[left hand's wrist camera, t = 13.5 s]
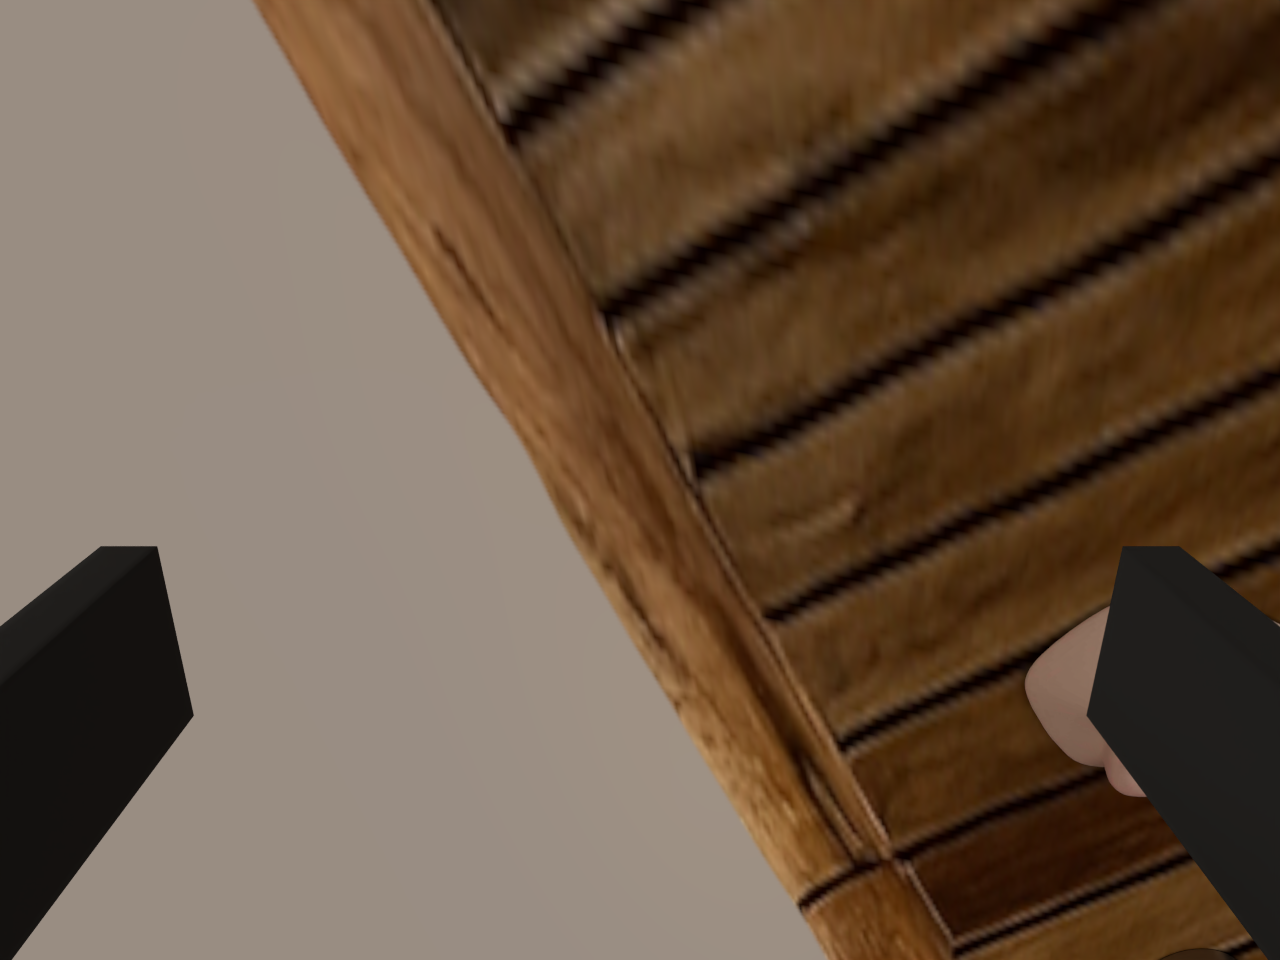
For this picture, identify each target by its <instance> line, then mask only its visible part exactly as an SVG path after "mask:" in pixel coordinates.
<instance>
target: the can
mask: <svg viewBox="0 0 1280 960" xmlns="http://www.w3.org/2000/svg"><path fill="white" fill-rule="evenodd" d="M1161 960H1236V959H1235V958H1234V957H1232V956H1230V955H1228V954H1226V953H1223V952H1220V951H1216V950H1210V949H1192V950H1186V951H1182V952H1178V953H1175V954H1172V955H1169V956H1167V957H1165V958H1163V959H1161Z"/></svg>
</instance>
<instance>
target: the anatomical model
mask: <svg viewBox="0 0 1280 960" xmlns="http://www.w3.org/2000/svg"><path fill="white" fill-rule="evenodd" d="M1109 608H1110V606H1109V607H1107V608H1105V609H1103V610H1101V611H1100V612H1098V613H1096V614H1094V615H1093V616H1091V617H1089V618H1088V619H1086V620H1085V621H1084V622H1082V623H1081V624H1079V625H1078V626H1076V627H1075V628H1073V629H1072V630H1071V631H1069V632H1068V633H1067V634H1065V635H1064V636H1063V637H1062V638H1060V639H1059V640H1058V641H1056V642H1055V643H1054V644H1053V645H1052V646H1051V647H1049V648H1048V649H1047V650H1046V651H1045V652H1044V653H1043V654H1042V655H1041V656H1040V657H1039V658H1038V659H1037V660H1036V661H1035V662H1034V664H1033V665H1032V666H1031V668H1030V669H1029V671H1028V674H1027V676H1026V680H1025V690H1026V694H1027V697H1028V699H1029V702H1030V704H1031V706H1032V708H1033V710H1034V712H1035V713H1036V715H1037V717H1038V718H1039V720H1040V722H1041V723H1042V725H1043V727H1044V728H1045V730H1046V731H1047V733H1048V734H1049V736H1050V737H1051V738H1052V739H1053V740H1054V741H1055V742H1056V744H1057V745H1058V746H1059V747H1060V748H1061V749H1062V750H1063V751H1064V752H1065V753H1066V754H1067V755H1068V756H1069V757H1071V758H1072V759H1073V760H1075V761H1077V762H1079V763H1081V764H1085V765H1089V766H1098V767H1105V770H1106V774H1107V777H1108V779H1109V781H1110V783H1111V784H1112V786H1113V787H1114V788H1115V789H1116V790H1117V791H1119V792H1120V793H1122V794H1125V795H1129V796H1137V797H1147V796H1146V795H1145V794H1144V792H1143V791H1142V790H1141V788H1140V787H1139V786H1138V784H1137V783H1136V782H1135V780H1134V779H1133V778H1132V776H1131V775H1130V774H1129V772H1128V771H1127V770H1126V768H1125V767H1124V766H1123V764H1122V763H1121V762H1120V760H1119V759H1118V757H1117V756H1116V755H1115V753H1114V752H1113V751H1112V749H1111V748H1110V747H1109V745H1108V744H1107V743H1106V741H1105V740H1104V739H1103V737H1102V736H1101V735H1100V733H1099V732H1098V731H1097V729H1096V728H1095V727H1094V725H1093V724H1092V723H1091V721H1090V720H1089V719H1088V717H1087V716H1086V715H1087V710H1088V705H1089V701H1090V696H1091V691H1092V687H1093V682H1094V678H1095V673H1096V668H1097V664H1098V659H1099V654H1100V650H1101V645H1102V641H1103V636H1104V631H1105V627H1106V622H1107V617H1108V613H1109ZM1275 623H1276V622H1275ZM1276 624H1277V625H1279V626H1280V624H1278V623H1276Z"/></svg>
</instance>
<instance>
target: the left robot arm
mask: <svg viewBox="0 0 1280 960" xmlns="http://www.w3.org/2000/svg"><path fill="white" fill-rule="evenodd" d="M193 716H194V715H193V710H192V705H191V701H190V696H189V691H188V687H187V682H186V678H185V673H184V668H183V664H182V659H181V654H180V650H179V645H178V641H177V636H176V631H175V627H174V622H173V617H172V613H171V608H170V604H169V599H168V594H167V590H166V585H165V580H164V576H163V571H162V566H161V562H160V557H159V553H158V548H157V546H101V547H99V548H98V549H97V550H96V551H94V552H93V553H92V554H91V555H89V556H88V557H87V558H86V559H84V560H83V561H82V562H81V563H79V564H78V565H77V566H76V567H74V568H73V569H72V570H71V571H69V572H68V573H67V574H66V575H64V576H63V577H62V578H61V579H59V580H58V581H57V582H55V583H54V584H53V585H52V586H51V587H49V588H48V589H47V590H45V591H44V592H43V593H42V594H40V595H39V596H38V597H37V598H35V599H34V600H33V601H32V602H30V603H29V604H28V605H27V606H25V607H24V608H23V609H22V610H20V611H19V612H18V613H17V614H15V615H14V616H13V617H12V618H10V619H9V620H8V621H6V622H5V623H4V624H3V625H2V626H0V960H12V959H13V957H14V956H15V955H16V953H17V952H18V951H19V949H20V948H21V947H22V945H23V944H24V943H25V941H26V940H27V938H28V937H29V936H30V934H31V933H32V932H33V930H34V929H35V928H36V926H37V925H38V924H39V922H40V921H41V920H42V918H43V917H44V916H45V914H46V913H47V912H48V910H49V909H50V908H51V906H52V905H53V904H54V902H55V901H56V900H57V898H58V897H59V896H60V894H61V893H62V892H63V890H64V889H65V888H66V886H67V885H68V884H69V882H70V881H71V880H72V878H73V877H74V876H75V874H76V873H77V871H78V870H79V869H80V867H81V866H82V865H83V863H84V862H85V861H86V859H87V858H88V857H89V855H90V854H91V853H92V851H93V850H94V849H95V847H96V846H97V845H98V843H99V842H100V841H101V839H102V838H103V837H104V835H105V834H106V833H107V831H108V830H109V829H110V827H111V826H112V825H113V823H114V822H115V821H116V819H117V818H118V817H119V815H120V814H121V812H122V811H123V810H124V808H125V807H126V806H127V804H128V803H129V802H130V800H131V799H132V798H133V796H134V795H135V794H136V792H137V791H138V790H139V788H140V787H141V786H142V784H143V783H144V782H145V780H146V779H147V778H148V776H149V775H150V774H151V772H152V771H153V770H154V768H155V767H156V765H157V764H158V763H159V761H160V760H161V759H162V757H163V756H164V755H165V753H166V752H167V751H168V749H169V748H170V747H171V745H172V744H173V743H174V741H175V740H176V739H177V737H178V736H179V735H180V733H181V732H182V731H183V729H184V728H185V727H186V725H187V724H188V723H189V721H190V720H191V719H192V717H193ZM1086 716H1087V717H1088V719H1089V720H1090V721H1091V723H1092V724H1093V725H1094V727H1095V728H1096V729H1097V731H1098V732H1099V733H1100V735H1101V736H1102V737H1103V739H1104V740H1105V741H1106V743H1107V744H1108V745H1109V747H1110V748H1111V749H1112V751H1113V752H1114V753H1115V755H1116V756H1117V757H1118V759H1119V760H1120V762H1121V763H1122V764H1123V766H1124V767H1125V768H1126V770H1127V771H1128V772H1129V774H1130V775H1131V776H1132V778H1133V779H1134V780H1135V782H1136V783H1137V784H1138V786H1139V787H1140V788H1141V790H1142V791H1143V792H1144V794H1145V795H1146V796H1147V798H1148V799H1149V800H1150V802H1151V803H1152V804H1153V806H1154V807H1155V808H1156V810H1157V811H1158V812H1159V814H1160V815H1161V817H1162V818H1163V819H1164V821H1165V822H1166V823H1167V825H1168V826H1169V827H1170V829H1171V830H1172V831H1173V833H1174V834H1175V835H1176V837H1177V838H1178V839H1179V841H1180V842H1181V843H1182V845H1183V846H1184V847H1185V849H1186V850H1187V851H1188V853H1189V854H1190V855H1191V857H1192V858H1193V859H1194V861H1195V862H1196V863H1197V865H1198V866H1199V867H1200V869H1201V870H1202V871H1203V873H1204V874H1205V876H1206V877H1207V878H1208V880H1209V881H1210V882H1211V884H1212V885H1213V886H1214V888H1215V889H1216V890H1217V892H1218V893H1219V894H1220V896H1221V897H1222V898H1223V900H1224V901H1225V902H1226V904H1227V905H1228V906H1229V908H1230V909H1231V910H1232V912H1233V913H1234V914H1235V916H1236V917H1237V918H1238V920H1239V921H1240V922H1241V924H1242V925H1243V926H1244V928H1245V929H1246V930H1247V932H1248V933H1249V935H1250V936H1251V937H1252V939H1253V940H1254V941H1255V943H1256V944H1257V945H1258V947H1259V948H1260V949H1261V951H1262V952H1263V953H1264V955H1265V956H1266V957H1267V959H1268V960H1280V626H1279V625H1277V624H1276V623H1275V622H1274V621H1272V620H1271V619H1270V618H1269V617H1267V616H1266V615H1265V614H1263V613H1262V612H1261V611H1260V610H1258V609H1257V608H1256V607H1255V606H1253V605H1252V604H1251V603H1250V602H1248V601H1247V600H1246V599H1245V598H1243V597H1242V596H1241V595H1240V594H1238V593H1237V592H1236V591H1235V590H1233V589H1232V588H1231V587H1230V586H1228V585H1227V584H1226V583H1225V582H1223V581H1222V580H1221V579H1220V578H1218V577H1217V576H1216V575H1214V574H1213V573H1212V572H1211V571H1209V570H1208V569H1207V568H1206V567H1204V566H1203V565H1202V564H1201V563H1199V562H1198V561H1197V560H1196V559H1194V558H1193V557H1192V556H1191V555H1189V554H1188V553H1187V552H1186V551H1184V550H1183V549H1182V548H1181V547H1179V546H1123V548H1122V553H1121V557H1120V562H1119V566H1118V571H1117V576H1116V580H1115V585H1114V590H1113V594H1112V599H1111V604H1110V608H1109V613H1108V617H1107V622H1106V627H1105V631H1104V636H1103V641H1102V645H1101V650H1100V654H1099V659H1098V664H1097V668H1096V673H1095V678H1094V682H1093V687H1092V691H1091V696H1090V701H1089V705H1088V710H1087V715H1086Z"/></svg>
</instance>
